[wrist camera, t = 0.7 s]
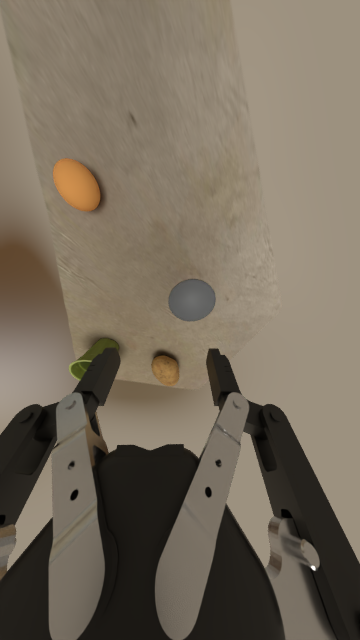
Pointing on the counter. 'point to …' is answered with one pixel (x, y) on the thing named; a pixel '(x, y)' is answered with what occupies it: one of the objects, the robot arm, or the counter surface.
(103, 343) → the plant pot
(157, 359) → the potato
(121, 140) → the counter surface
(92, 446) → the robot arm
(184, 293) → the disc
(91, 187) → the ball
